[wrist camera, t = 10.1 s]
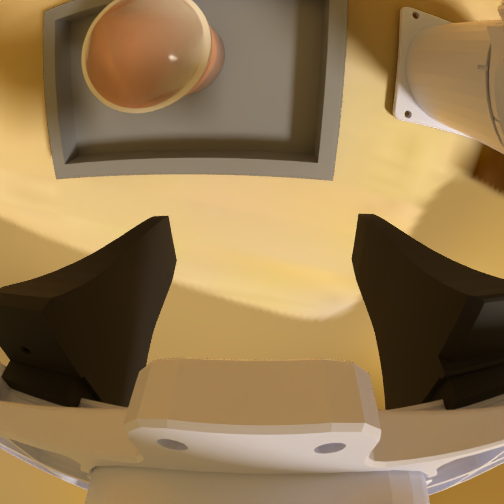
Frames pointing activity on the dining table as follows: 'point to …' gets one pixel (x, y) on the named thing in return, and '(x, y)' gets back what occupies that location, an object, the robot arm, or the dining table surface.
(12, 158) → the dining table surface
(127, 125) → the serving tray
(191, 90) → the cup
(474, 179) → the dining table surface
